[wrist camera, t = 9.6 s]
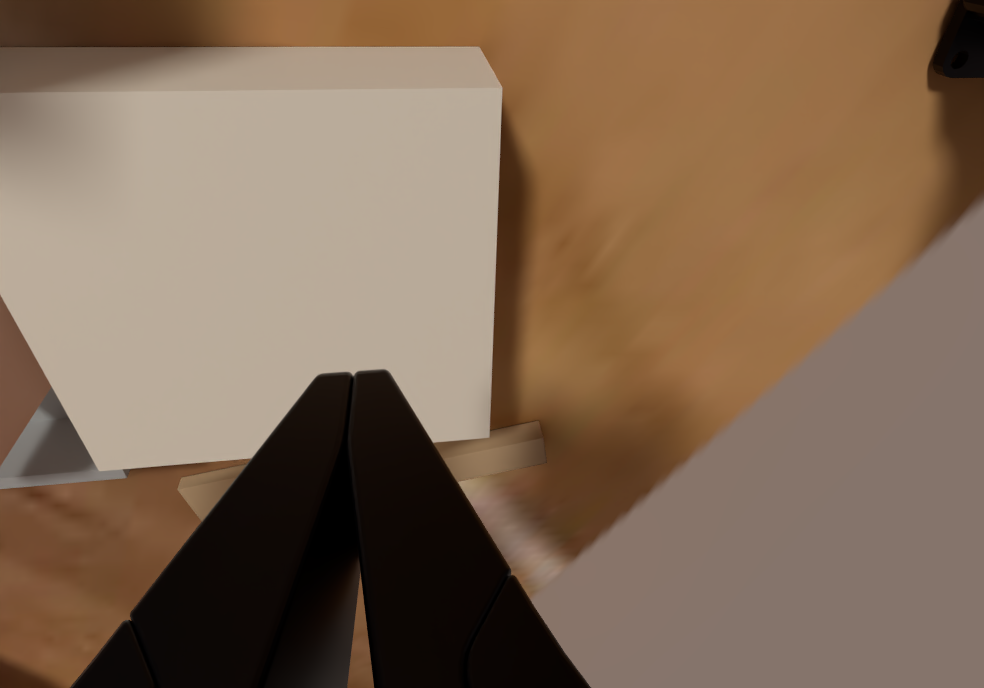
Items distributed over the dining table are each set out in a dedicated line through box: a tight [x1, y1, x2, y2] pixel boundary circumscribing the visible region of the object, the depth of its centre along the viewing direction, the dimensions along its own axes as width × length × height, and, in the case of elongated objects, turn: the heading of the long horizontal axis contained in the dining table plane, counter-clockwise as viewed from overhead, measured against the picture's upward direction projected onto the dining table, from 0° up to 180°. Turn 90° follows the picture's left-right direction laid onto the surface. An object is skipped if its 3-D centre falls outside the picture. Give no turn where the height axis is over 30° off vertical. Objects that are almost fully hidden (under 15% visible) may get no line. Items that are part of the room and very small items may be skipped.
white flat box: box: [0, 47, 502, 471], centre depth 17 cm, size 12×11×4 cm
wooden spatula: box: [177, 421, 547, 521], centre depth 25 cm, size 15×4×1 cm, turn 98°
